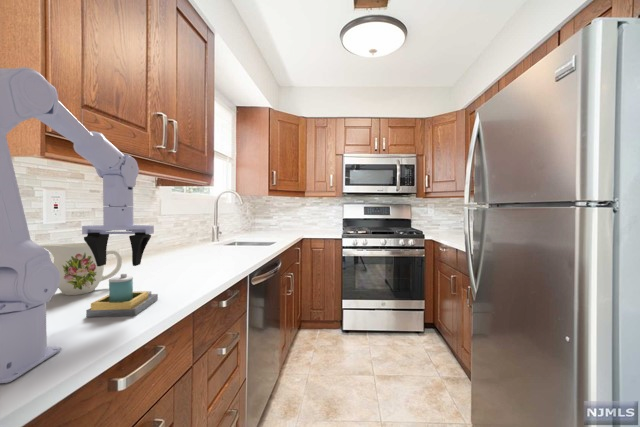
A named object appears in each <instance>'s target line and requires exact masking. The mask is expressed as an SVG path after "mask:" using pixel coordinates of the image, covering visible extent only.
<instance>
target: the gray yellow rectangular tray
mask: <svg viewBox="0 0 640 427" xmlns="http://www.w3.org/2000/svg"><path fill="white" fill-rule="evenodd" d="M158 296H159V295H158V293H152V291H151V290H149V291H148V290H144V291H141V290H140V291H133V299H132V300H130V301H122V302H109V294H108V295H104V296H103V297H101V298H99V299H97V300H95V301H93V302H91V303H90V308H88V309H86V313H85V314H86V318H102V317H103V318H104V317H108V318H109V317H133V316H137V315H139V314H140V313H141V312H143V311H144V310H146V309H147V308H148V307H150V306H151V305H153V304H154V303H156V302H157V301H158V300H159V298H158Z"/></svg>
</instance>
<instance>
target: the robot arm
mask: <svg viewBox="0 0 640 427" xmlns="http://www.w3.org/2000/svg"><path fill="white" fill-rule="evenodd" d="M30 119H36V120H38V121H39V122H41V123H43V124H44V125H46V126H47V127H49V128H50V129H52V130H54V132H57V133H58V134H59V135H61V136H62V137H63V138H66V139H67V141H70V142H71V143H73V146H72V147H73V150H74V151H75V153H76V154H77V155H79V156H80V157H82V158H83V159H84V160H86V161H87V162H88V163H90V164H91V165H92V167H93V168H94V169H95V171H96V174H97V175H98V177H99V178H102V205H103V206H102V208H103V210H102V212H103V213H102V214H103V215H102V216H103V218H102V219H103V220H102V221H103V225H100V224H99V225H95V224H94V225H90V224H89V225H82V226H81V234H82V235H86V236H84V237H83V240H84V243H87V244H88V246H89V247H90V249H91V251H92V253H93V255H94V258H95V261H96V264H97V266H103V265H104V266H105V265H107V255H106V251H107V250H108V249H107V248H108V241H109V238H110V235H129V236H128V238H129V243H130V245H131V255H132V256H131V257H132V258H131V261H132V262H131V263H132V266H133V267H137V266H139V265H141V262H142V258H143V255H144V251H145V249H146V246H147V245H148V242H149V241H150V239H151V238H152V235H153V234H154V232H155V230H154V228H155V227H154V224H153V225H152V224H151V225H150V224H149V225H146V224H143V225H140V224H134V188H135V187H136V185H137V178H138V176H139V173H140V167H139V165H138V161H137V160H136V158H134V157H132V155H130V154H124V153H123V152H121V151H120V150H119V148H117V147H116V146H115V145H114V144H112V143H111V142H110V141H109V140H108V139H107V138H106V137H105V135H104V134H103V133H102V132H98V131H95V130H94V131H93V130H88V129H87V128H86V127H85V125H83V123H81V122H80V121H79V120H78V118H77V117H75V116H74V115H73V114H72V112H70V111H69V110H68V109H67V108H66V107H65V106H64V104H63V103H62V102H61V101H59V96H58V91H57V89H56V87H55V86H54V85H52V84H51V83H50V82H48V80H47V79H46V77H45V76H43V75H42V74H41V73H40V72H38V71H37V70H35V69H33V68H30V67H24V66H23V67H16V68H15V67H14V68H11V67H10V68H9V67H8V68H6V67H5V68H3V67H2V68H1V67H0V384H7V383H11V382H12V381H14V380H16V379H17V378H19V377H21V376H23V375H24V374H25V373H27V372H28V371H30V370H32V369H33V368H34V367H36V366H38V365H39V364H41V363H43V362H44V361H46V360H48V359H49V358H51V357H52V356H54V355H55V354H57V353H58V352H60V351H62V346H48V344H47V343H48V342H47V338H48V336H47V303H49V302H51V298H52V297H54V295H55V294H56V292H57V291H58V289H59V288H58V287H59V284H60V273H59V270H58V268H57V267H56V266H55V265H54V264H53V261H52V258H51V253H50V252H49V250H47V249H45V248H43V247H41V246H40V245H39V244H38V243H36V242H35V241H34V240H32V239H31V236H30V231H29V226H28V223H27V218H26V213H25V211H24V206H23V203H22V202H23V201H22V197H21V194H20V190H19V185H18V181H17V175H16V172H15V168H14V163H13V160H12V155H11V150H10V147H9V141H8V139H7V134H9V133H10V132H11V131H12V130H13V129H15V127H17V126H18V125H19V124H21V123H22V122H25V121H27V120H30Z"/></svg>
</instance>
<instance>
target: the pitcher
mask: <svg viewBox="0 0 640 427" xmlns="http://www.w3.org/2000/svg"><path fill="white" fill-rule="evenodd" d="M39 246H41V247H43V248H44V249H45V250H47V251H48V252H49V254H50V255H52V257H53V261H52V263H53V264H54V265H55V266H56V267H57V268H58V270H59V273H60V284H59V287H58V289H59V291H60V292H62V294H63V295H65V296H79V295H83V294H89V293H91V292H94V291H95V290H96V289H97V287H98V286H99V284H100V283H101V282H102V281H106V280H109V279H111V278H114V276H116V275H117V274H118V273H119V271H120V270H121V268H122V264H123V260H122V259H123V258H122V256H121V254H120V252H118V250H115V249H106V256H108V255H114V256H115V258H116V266H115V268H114V269H113V270H112V271H110V272H109V273H107V274H104V267H105V265H103V266H97V264H96V261H95V258H94V255H93V253H92V251H91V249H90V247H89V246H88V244H87V243H86V242H76V243H55V244H51V243H50V244H41V245H39ZM103 274H104V275H103Z"/></svg>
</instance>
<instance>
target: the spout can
mask: <svg viewBox="0 0 640 427" xmlns="http://www.w3.org/2000/svg"><path fill="white" fill-rule="evenodd" d="M133 280H134V277H133V276H130V275H129V276H128V273H121V274H120V276H117V277H111V278H109V279H108V291H109V292H108V295H109V302H122V301H130V300H132V299H133V292H134V291H133V290H134V282H133Z"/></svg>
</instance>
